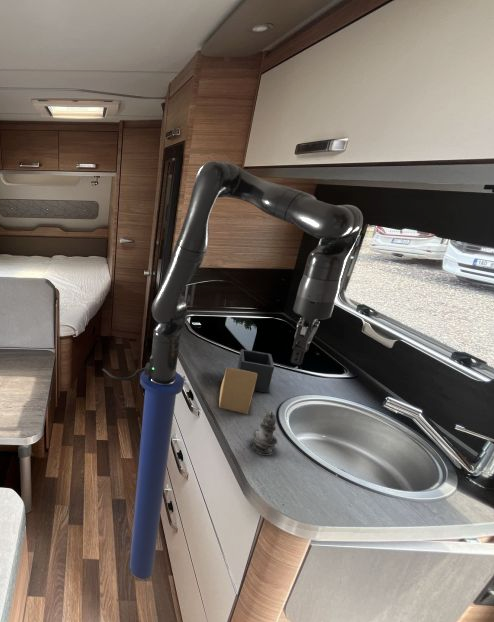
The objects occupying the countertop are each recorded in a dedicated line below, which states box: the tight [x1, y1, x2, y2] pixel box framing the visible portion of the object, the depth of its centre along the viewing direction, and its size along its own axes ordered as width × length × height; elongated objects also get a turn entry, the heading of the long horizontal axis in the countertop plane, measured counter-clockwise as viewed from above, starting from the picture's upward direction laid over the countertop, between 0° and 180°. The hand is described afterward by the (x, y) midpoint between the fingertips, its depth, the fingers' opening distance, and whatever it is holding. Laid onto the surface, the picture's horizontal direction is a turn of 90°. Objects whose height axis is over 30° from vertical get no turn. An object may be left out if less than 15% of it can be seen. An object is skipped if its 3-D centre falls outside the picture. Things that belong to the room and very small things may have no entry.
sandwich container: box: [218, 367, 258, 415], centre depth 108 cm, size 9×15×15 cm, turn 156°
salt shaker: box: [250, 411, 278, 456], centre depth 88 cm, size 6×6×12 cm
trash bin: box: [236, 348, 275, 394], centre depth 117 cm, size 10×10×10 cm
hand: (299, 356), depth 84 cm, fingers open, 8 cm apart
